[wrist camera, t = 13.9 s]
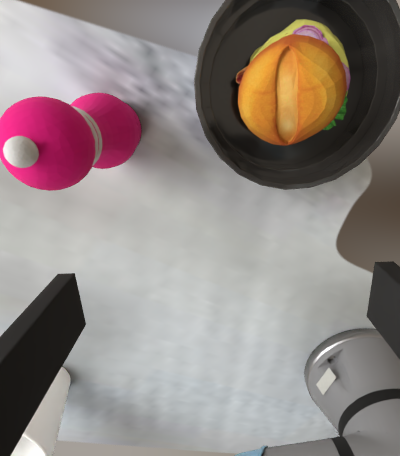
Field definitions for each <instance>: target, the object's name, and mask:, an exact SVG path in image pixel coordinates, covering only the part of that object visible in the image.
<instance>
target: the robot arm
mask: <svg viewBox="0 0 400 456" xmlns="http://www.w3.org/2000/svg"><path fill="white" fill-rule="evenodd" d="M367 317H368V318H369V320H370V321H371V322H372V324H373V325H374V326H375V328H376V329H377V330H375V329H355V330H349V331H345V332H342V333H339V334H337V335H334V336H332V337H330V338H329V339H327V340H325V341H324V342H323V343H321V344H320V345H319V346H318V347H317V348H316V349H315V350H314V351H313V352H312V354H311V355H310V357H309V359H308V361H307V363H306V366H305V373H304V374H305V382H306V385H307V388H308V391H309V393H310V396H311V398H312V399H313V401H314V402H315V403H316V405H317V406H318V407H319V408H320V410H321V411H322V412H323V413H324V415H325V416H326V417H327V418H328V420H329V421H330V422H331V423H332V425H333V426H334V427H335V428H336V430H337V431H338V433H339V435H340V437H335V438H328V439H322V440H316V441H310V442H303V443H296V444H289V445H282V446H275V447H269V448H268V446H263V447H261V449H257V450H253V451H248V452H244V453H239V454H237V455H235V456H400V267H399V266H398V265H397V264H396V263H394V262H375V266H374V272H373V279H372V285H371V292H370V298H369V305H368V312H367ZM85 325H86V323H85V318H84V314H83V309H82V305H81V300H80V295H79V291H78V286H77V282H76V277H75V273H72V274H58V275H57V276H56V277H55V278H54V279H53V280H52V281H51V282H50V283H49V284H48V285H47V286H46V288H45V289H44V290H43V291H42V292H41V293H40V294H39V295H38V296H37V297H36V298H35V300H34V301H33V302H32V303H31V304H30V305H29V306H28V307H27V308H26V309H25V310H24V312H23V313H22V314H21V315H20V316H19V317H18V318H17V319H16V320H15V321H14V322H13V324H12V325H11V326H10V327H9V328H8V329H7V330H6V331H5V332H4V333H3V334H2V336H1V337H0V456H11V454H12V452H13V451H14V449H15V447H16V445H17V444H18V442H19V440H20V438H21V437H22V435H23V433H24V431H25V430H26V428H27V426H28V424H29V423H30V421H31V419H32V417H33V416H34V414H35V412H36V411H37V409H38V407H39V405H40V404H41V402H42V400H43V398H44V397H45V395H46V393H47V391H48V390H49V388H50V386H51V384H52V383H53V381H54V379H55V377H56V376H57V374H58V372H59V370H60V369H61V367H62V365H63V363H64V362H65V360H66V358H67V357H68V355H69V353H70V351H71V350H72V348H73V346H74V344H75V343H76V341H77V339H78V337H79V336H80V334H81V332H82V330H83V329H84V327H85Z"/></svg>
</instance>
